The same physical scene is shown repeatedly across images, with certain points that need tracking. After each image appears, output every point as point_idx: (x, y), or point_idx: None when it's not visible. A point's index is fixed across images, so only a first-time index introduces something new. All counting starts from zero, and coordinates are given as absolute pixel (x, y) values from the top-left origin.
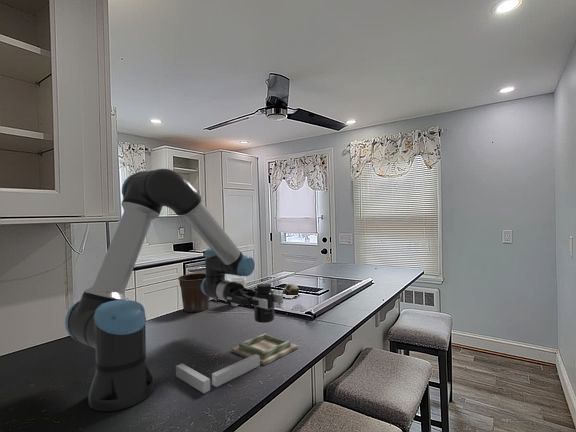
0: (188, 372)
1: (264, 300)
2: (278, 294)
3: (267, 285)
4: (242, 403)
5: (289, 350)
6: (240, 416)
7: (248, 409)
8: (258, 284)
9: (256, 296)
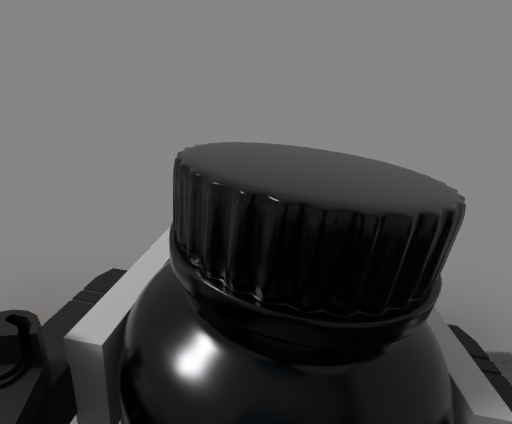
0: None
1: None
2: (166, 235)
3: (303, 149)
4: None
5: None
6: (508, 353)
7: (486, 352)
8: (391, 205)
9: (438, 345)
